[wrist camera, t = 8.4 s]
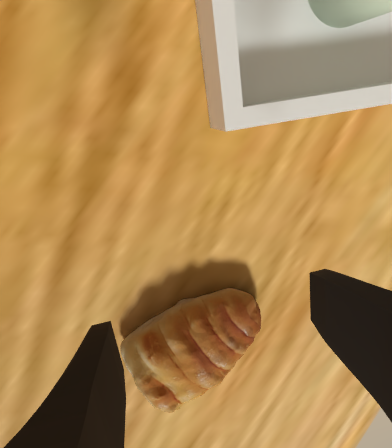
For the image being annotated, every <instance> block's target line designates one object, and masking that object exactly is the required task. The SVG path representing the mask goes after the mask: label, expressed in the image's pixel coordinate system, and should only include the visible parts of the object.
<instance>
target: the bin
mask: <svg viewBox="0 0 392 448" xmlns="http://www.w3.org/2000/svg"><path fill="white" fill-rule="evenodd" d="M195 3H196V11H197V20H198V28H199V36H200V45H201V53H202V61H203V70H204V78H205V86H206V95H207V103H208V111H209V120H210V128H213V129H217V130H222V131H231V130H237V129H243V128H249V127H255V126H261V125H267V124H273V123H279V122H285V121H291V120H297V119H303V118H309V117H315V116H321V115H327V114H333V113H339V112H345V111H351V110H357V109H363V108H369V107H374V106H380V105H386V104H392V12H389V13H386V14H383V15H380V16H378V17H375V18H372V19H369V20H366V21H363V22H360V23H357V24H355V25H352V26H348V27H345V28H334V27H330V26H328V25H326V24H324V23H323V22H321V21H320V20H319V19H318V18H317V17H316V16H315V14H314V13H313V11H312V9H311V7H310V5H309V2H308V0H195Z"/></svg>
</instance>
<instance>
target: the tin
mask: <svg viewBox="0 0 392 448" xmlns="http://www.w3.org/2000/svg"><path fill="white" fill-rule="evenodd" d="M308 2H309V5H310V7H311V9H312V11H313V13H314V14H315V16H316V17H317V18H318V19H319V20H320V21H321V22H323V23H324V24H326V25H328V26H330V27H334V28H345V27H348V26H352V25H355V24H357V23H360V22H363V21H366V20H369V19H372V18H375V17H378V16H380V15H383V14H386V13H389V12H392V0H308Z"/></svg>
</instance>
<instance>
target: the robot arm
mask: <svg viewBox="0 0 392 448" xmlns="http://www.w3.org/2000/svg"><path fill="white" fill-rule="evenodd" d="M310 308H311V321H312V322H313V324H314V325H315V327H316V329H317V330H318V332H319V333H320V335H321V336H322V338H323V339H324V341H325V342H326V343H327V344H328V346H329V347H330V348H331V349H332V350H333V352H334V353H335V354H336V355H337V356H338V357H339V359H340V360H341V361H342V362H343V363H344V364H345V365H346V367H347V368H348V369H349V370H350V371H351V372H352V373H353V375H354V376H355V377H356V378H357V379H358V380H359V381H360V383H361V384H362V385H363V386H364V387H365V388H366V389H367V391H368V392H369V393H370V394H371V395H372V397H373V398H374V399H375V400H376V401H377V403H378V404H379V405H380V407H381V408H382V409H383V410H384V412H385V413H386V415H387V416H388V418H389V419H390V420H391V422H392V291H390V290H387V289H384V288H381V287H378V286H375V285H372V284H369V283H366V282H364V281H361V280H358V279H355V278H352V277H349V276H346V275H344V274H341V273H338V272H334V271H331V270H327V269H323V270H319V271H315V272H311V273H310ZM125 410H126V392H125V379H124V369H123V365H122V361H121V358H120V354H119V350H118V347H117V343H116V339H115V336H114V332H113V328H112V325H111V321H109V322H105V323H100V324H96V325H92V326H91V328H90V329H89V331H88V332H87V334H86V336H85V338H84V340H83V341H82V343H81V345H80V347H79V348H78V350H77V352H76V353H75V355H74V357H73V358H72V360H71V362H70V363H69V365H68V366H67V368H66V370H65V371H64V373H63V374H62V376H61V377H60V379H59V380H58V382H57V383H56V385H55V386H54V388H53V389H52V390H51V392H50V393H49V395H48V396H47V398H46V399H45V400H44V402H43V403H42V404H41V406H40V407H39V408H38V409H37V411H36V412H35V413H34V414H33V416H32V417H31V418H30V419H29V420H28V422H27V423H26V424H25V425H24V426H23V427H22V429H21V430H20V431H19V432H18V433H17V434H16V435H15V436H14V437H13V438H12V439H11V440H10V442H9V443H8V444H7V445H6V446H5V447H4V448H124V436H125Z"/></svg>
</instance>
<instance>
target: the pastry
mask: <svg viewBox="0 0 392 448" xmlns="http://www.w3.org/2000/svg"><path fill="white" fill-rule="evenodd" d="M260 328H261V315H260V309H259V307H258V304H257V302H256V301H255V299H254V297H253V296H252V295H250V294H249V293H247V292H244V291H241V290H238V289H234V288H226V289H221V290H219V291H217V292H213V293H211V294H207V295H202V296H199V297H196V298H187V299H183V300H180V301H179V302H178V303H177V304H176V305H175V306H174V307H171V308H169V309H167V310H166V311H164V312H162V313H161V314H159V315H157V316H155V317H153V318H151V319H150V320H148V321H147V322H145V323H144V324H142V325H141V326H139V327H138V328H137V329H136V330H135V331H133V332H132V333H130V334H129V335H128V336H127V337H126V338H125V339H124V340H123V341H122V343H121V354H122V357H123V360H124V362H125V365H126V367H127V369H128V370H129V372H130V373H131V374H132V376H133V378H134V381H135V383H136V386H137V388H138V389H139V390H140V392H141V393H142V394H143V396H144V397H145V398H146V399H147V400H148V401H149V402H150V404H151V405H152V406H153V407H154V408H156V409H161V410H162V411H164V412H168V413H172V412H174V411H175V410H178V409H180V407H181V406H182V405H183V404H184V403H186V402H188V401H190V400H193V399H195V398H197V397H199V396H201V395H203V394H204V393H205V392H206V391H207V390H208V389H210V388H213V387H215V386H217V385H219V384H220V383H221V382H222V380H223V378H224V377H225V376H226V375H227V373H228V372H229V371H230V370H231V369H232V368H233V367H234V365H235V364H236V361H237V360H238V359H240V358H241V356H242V355H243V354H244V353H245V352H246V350H247V348H248V347H249V346H250V345H251V344H252V342H253V341H254V338H255V336H256V334H257V333H258V332H259V331H260Z"/></svg>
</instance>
